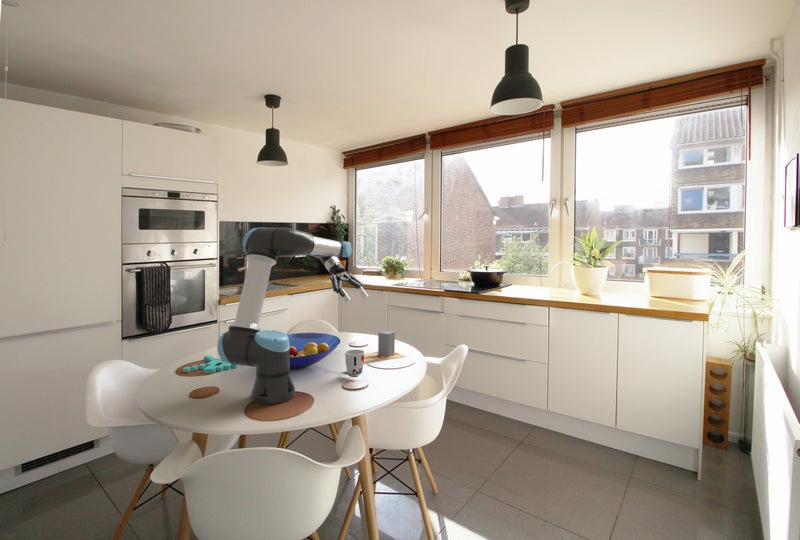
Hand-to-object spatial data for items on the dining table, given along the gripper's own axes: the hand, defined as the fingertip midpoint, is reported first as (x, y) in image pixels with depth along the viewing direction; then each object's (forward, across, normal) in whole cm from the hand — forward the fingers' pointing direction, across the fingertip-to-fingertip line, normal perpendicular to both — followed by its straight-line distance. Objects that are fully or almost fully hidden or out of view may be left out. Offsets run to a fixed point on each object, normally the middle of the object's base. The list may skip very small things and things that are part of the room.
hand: (357, 299), depth 198 cm
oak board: (+28, +1, -11) cm, 30 cm away
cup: (+33, +24, -7) cm, 41 cm away
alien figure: (-9, +50, -49) cm, 70 cm away
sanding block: (+29, -4, -8) cm, 30 cm away
